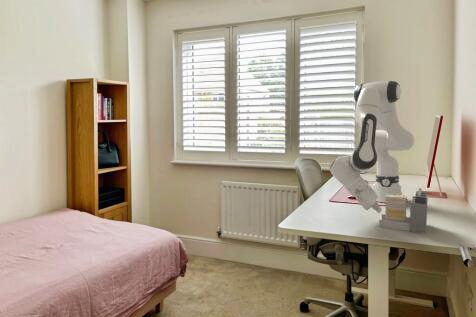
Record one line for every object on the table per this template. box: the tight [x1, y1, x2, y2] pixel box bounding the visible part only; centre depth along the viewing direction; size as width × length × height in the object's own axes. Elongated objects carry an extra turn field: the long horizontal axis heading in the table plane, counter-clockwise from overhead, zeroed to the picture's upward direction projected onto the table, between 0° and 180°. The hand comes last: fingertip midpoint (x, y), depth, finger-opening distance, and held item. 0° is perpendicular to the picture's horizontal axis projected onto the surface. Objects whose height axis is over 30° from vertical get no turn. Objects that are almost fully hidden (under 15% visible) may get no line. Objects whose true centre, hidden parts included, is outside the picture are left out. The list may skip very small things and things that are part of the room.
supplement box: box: [384, 194, 408, 222], centre depth 161 cm, size 8×5×13 cm, turn 63°
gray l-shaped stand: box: [378, 187, 429, 234], centre depth 160 cm, size 14×18×16 cm
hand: (380, 211), depth 164 cm, fingers closed
